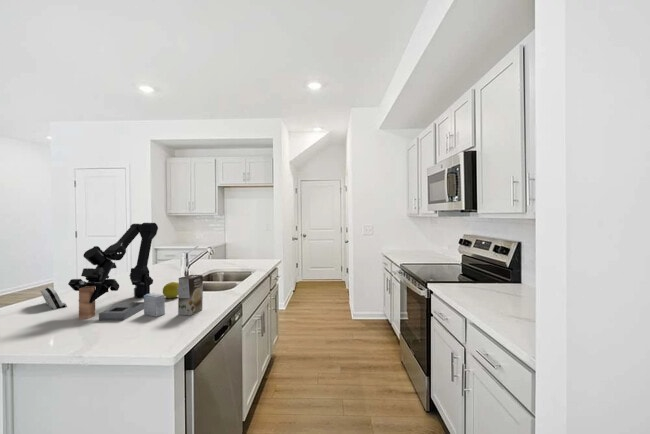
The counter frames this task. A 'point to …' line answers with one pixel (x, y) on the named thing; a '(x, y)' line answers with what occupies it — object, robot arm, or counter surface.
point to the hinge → (52, 298)
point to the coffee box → (190, 294)
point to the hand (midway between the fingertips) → (84, 302)
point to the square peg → (86, 302)
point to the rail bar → (121, 311)
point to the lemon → (171, 290)
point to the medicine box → (154, 304)
